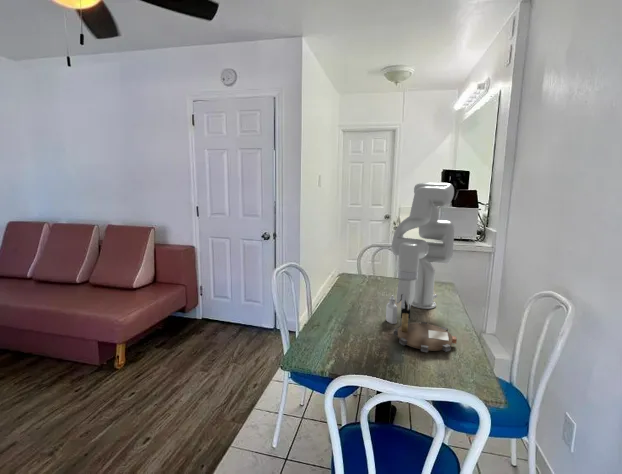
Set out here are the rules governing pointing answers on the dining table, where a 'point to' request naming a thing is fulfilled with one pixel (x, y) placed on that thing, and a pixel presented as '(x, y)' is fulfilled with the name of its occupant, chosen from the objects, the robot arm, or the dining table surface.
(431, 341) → the sprocket
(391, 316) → the eye dropper bottle
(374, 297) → the dining table surface
